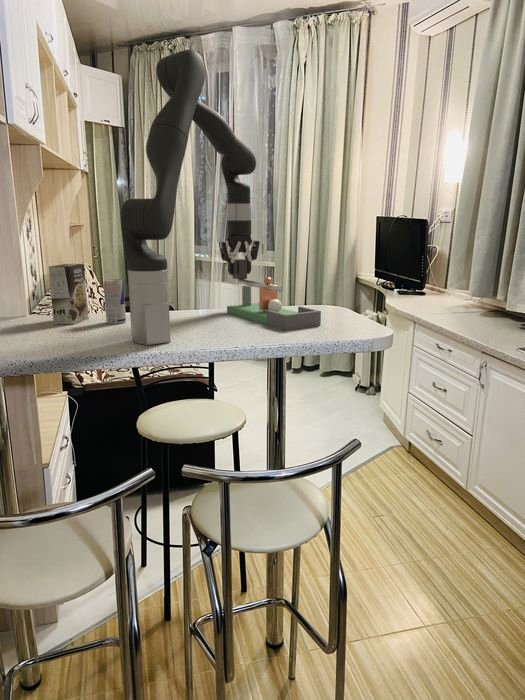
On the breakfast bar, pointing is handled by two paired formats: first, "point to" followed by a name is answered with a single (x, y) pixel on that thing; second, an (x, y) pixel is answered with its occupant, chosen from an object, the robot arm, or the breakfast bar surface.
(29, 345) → the breakfast bar surface
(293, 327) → the pitch
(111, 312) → the energy drink
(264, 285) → the kicker rod
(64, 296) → the coffee box
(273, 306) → the ball
